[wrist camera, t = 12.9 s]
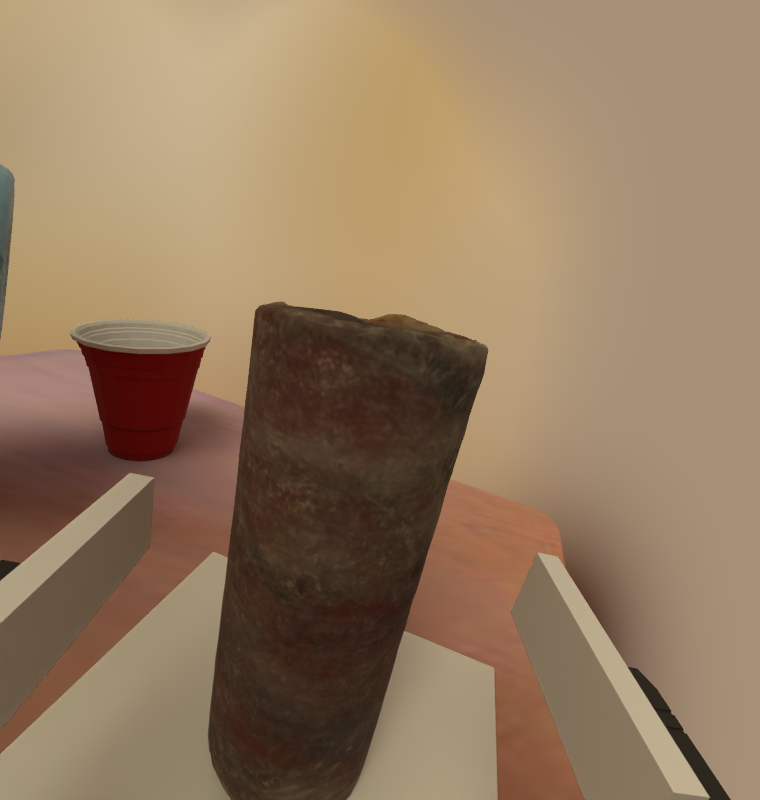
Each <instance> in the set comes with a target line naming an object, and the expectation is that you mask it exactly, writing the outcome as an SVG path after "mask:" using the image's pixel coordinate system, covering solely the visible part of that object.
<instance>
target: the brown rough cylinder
mask: <svg viewBox="0 0 760 800" xmlns="http://www.w3.org/2000/svg"><path fill="white" fill-rule="evenodd" d="M487 354H488V348H487V347H486V345H484V344H481V343H479V342H477V341H476V340H471V339H469V338H467V337H464V336H461V335H457V334H453V333H450V332H445V331H443V330H442V329H440V328H437V327H434V326H431V325H428V324H427V323H424V322H421V321H418V320H416V319H414V318H411V317H408V316H406V315H398V314H388V315H385V316H382V317H378V318H375V319H371V320H368V319H359V318H357V317H355V316H352V315H349V314H346V313H342V312H338V311H330V310H322V309H314V308H304V307H293V306H289V305H287V304H285V303H284V302H275V303H271V304H266V305H261V306H259V307H258V308H257V309H256V311H255V318H254V329H253V339H252V348H251V357H250V367H249V376H248V387H247V394H246V401H245V412H244V422H243V430H242V438H241V445H240V454H239V465H238V476H237V486H236V496H235V505H234V514H233V521H232V529H231V536H230V544H229V552H228V561H227V569H226V578H225V586H224V593H223V601H222V609H221V618H220V628H219V637H218V644H217V651H216V657H215V669H214V678H213V687H212V697H211V705H210V715H209V727H208V743H209V752H210V754H211V761H212V765H213V768H214V770H215V772H216V774H217V777H218V778H219V780H220V783H221V785H222V787H223V789H224V790H225V792H226V793H227V795H228V796H229V797H230V799H231V800H346V799H347V798H348V797H349V796H350V794H351V793H352V791H353V789H354V787H355V785H356V783H357V781H358V779H359V777H360V774H361V772H362V769H363V766H364V763H365V760H366V757H367V754H368V751H369V747H370V744H371V741H372V738H373V735H374V731H375V728H376V725H377V722H378V718H379V715H380V712H381V708H382V705H383V701H384V698H385V694H386V691H387V688H388V684H389V681H390V678H391V674H392V671H393V667H394V664H395V660H396V656H397V652H398V648H399V645H400V642H401V639H402V636H403V633H404V630H405V626H406V622H407V619H408V615H409V611H410V608H411V604H412V601H413V598H414V595H415V593H416V590H417V587H418V583H419V580H420V577H421V574H422V571H423V567H424V564H425V560H426V556H427V553H428V550H429V547H430V544H431V540H432V537H433V534H434V531H435V528H436V525H437V522H438V519H439V516H440V512H441V508H442V505H443V501H444V497H445V494H446V490H447V486H448V483H449V480H450V477H451V475H452V472H453V468H454V465H455V462H456V458H457V455H458V452H459V449H460V446H461V443H462V440H463V437H464V434H465V431H466V427H467V423H468V419H469V415H470V412H471V409H472V406H473V403H474V400H475V397H476V394H477V391H478V389H479V386H480V384H481V381H482V378H483V375H484V371H485V365H486V359H487Z"/></svg>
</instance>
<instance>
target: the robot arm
mask: <svg viewBox="0 0 760 800" xmlns="http://www.w3.org/2000/svg"><path fill="white" fill-rule="evenodd" d="M13 206H14V176H13V174H12V173H11V172H10V171H9V169H7V168H5V167H4V166H2V165H0V337H1V330H2V322H3V314H4V305H5V296H6V286H7V276H8V265H9V254H10V242H11V231H12V221H13ZM153 491H154V477H149V476H144V475H139V474H133V473H129V474H128V475H127V476H126V477H124V478H123V479H122V480H121V481H120V482H118V483H117V484H116V485H115V486H114V487H112V488H111V489H110V490H109V491H108V492H106V493H105V494H104V495H103V496H101V497H100V498H99V499H98V500H97V501H95V502H94V503H93V504H92V505H91V506H89V507H88V508H87V509H86V510H85V511H83V512H82V513H81V514H80V515H79V516H77V517H76V518H75V519H74V520H73V521H71V522H70V523H69V524H68V525H67V526H65V527H64V528H63V529H62V530H61V531H59V532H58V533H57V534H56V535H55V536H53V537H52V538H51V539H50V540H49V541H47V542H46V543H45V544H44V545H43V546H41V547H40V548H39V549H38V550H37V551H35V552H34V553H33V554H32V555H31V556H29V557H28V558H27V559H26V560H25V561H23V562H22V563H17V562H11V561H5V560H1V561H0V731H1V730H2V729H3V728H4V726H5V725H6V724H7V723H8V721H9V720H10V719H11V718H12V716H13V715H14V714H15V713H16V711H17V710H18V709H19V708H20V707H21V705H22V704H23V703H24V702H25V700H26V699H27V698H28V697H29V695H30V694H31V693H32V692H33V690H34V689H35V688H36V687H37V686H38V684H39V683H40V682H41V681H42V679H43V678H44V677H45V676H46V674H47V673H48V672H49V671H50V670H51V668H52V667H53V666H54V665H55V663H56V662H57V661H58V660H59V658H60V657H61V656H62V655H63V653H64V652H65V651H66V650H67V649H68V647H69V646H70V645H71V644H72V642H73V641H74V640H75V639H76V637H77V636H78V635H79V634H80V632H81V631H82V630H83V629H84V628H85V626H86V625H87V624H88V623H89V621H90V620H91V619H92V618H93V616H94V615H95V614H96V613H97V611H98V610H99V609H100V608H101V607H102V605H103V604H104V603H105V602H106V600H107V599H108V598H109V597H110V595H111V594H112V593H113V592H114V590H115V589H116V588H117V587H118V586H119V584H120V583H121V582H122V581H123V579H124V578H125V577H126V576H127V574H128V573H129V572H130V571H131V570H132V568H133V567H134V566H135V565H136V563H137V562H138V561H139V560H140V558H141V557H142V556H143V555H144V553H145V552H146V551H147V550H148V549H149V547H150V537H151V522H152V506H153ZM511 614H512V616H513V619H514V621H515V624H516V627H517V629H518V632H519V634H520V637H521V639H522V642H523V644H524V647H525V649H526V652H527V655H528V657H529V660H530V662H531V665H532V667H533V670H534V672H535V675H536V677H537V680H538V682H539V685H540V688H541V690H542V693H543V695H544V698H545V700H546V703H547V705H548V708H549V710H550V713H551V716H552V718H553V721H554V723H555V726H556V728H557V731H558V733H559V736H560V738H561V741H562V743H563V746H564V749H565V751H566V754H567V756H568V759H569V761H570V764H571V766H572V769H573V771H574V774H575V776H576V779H577V782H578V784H579V787H580V789H581V792H582V794H583V797H584V799H585V800H730V798H729V797H728V795H727V794H726V792H725V791H724V789H723V788H722V786H721V785H720V783H719V782H718V780H717V779H716V777H715V776H714V774H713V773H712V771H711V770H710V768H709V767H708V765H707V764H706V762H705V761H704V759H703V758H702V756H701V755H700V753H699V752H698V750H697V749H696V747H695V746H694V744H693V743H692V741H691V740H690V738H689V737H688V735H687V734H685V733H684V732H683V728H682V726H681V725H680V723H679V722H678V720H677V719H676V717H675V716H674V715H672V714H671V710H670V709H669V707H668V705H667V704H666V702H665V701H664V699H663V698H662V697H661V695H660V693H659V692H658V690H657V689H656V688H655V687H654V686H653V685H652V684H651V683H650V682H649V681H648V679H646V677H645V676H644V675H643V674H642V673H641V672H640V671H639V670H638V669H636V668H630V667H627V666H626V664H625V662H624V661H623V660H622V658H621V656H620V655H619V653H618V651H617V650H616V648H615V647H614V645H613V643H612V642H611V640H610V639H609V637H608V636H607V634H606V632H605V631H604V629H603V628H602V626H601V625H600V623H599V621H598V620H597V618H596V617H595V615H594V613H593V612H592V610H591V609H590V607H589V605H588V604H587V602H586V601H585V599H584V598H583V596H582V594H581V593H580V591H579V590H578V588H577V586H576V585H575V583H574V582H573V580H572V579H571V577H570V575H569V574H568V572H567V571H566V569H565V567H564V566H563V564H562V563H561V561H560V560H559V558H558V557H557V556H552V555H547V554H542V553H537V554H536V556H535V559H534V561H533V563H532V565H531V568H530V570H529V572H528V574H527V577H526V579H525V581H524V583H523V586H522V588H521V590H520V593H519V595H518V597H517V599H516V602H515V604H514V606H513V608H512V611H511Z"/></svg>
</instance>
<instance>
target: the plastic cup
mask: <svg viewBox="0 0 760 800" xmlns="http://www.w3.org/2000/svg"><path fill="white" fill-rule="evenodd" d="M70 335H71V337H72V339H73V340H75V341H77V343H78V345H79V347H80V348H81V351H82V354H83V355H84V357H85V360H86V364H87V366H88V367H89V371H90V376H91V380H92V385H93V389H94V394H95V398H96V403H97V407H98V412H99V416H100V420H101V421H102V425H103V430H104V435H105V441H106V445H107V446H108V450H109V452H110V453H112V454H113V455H114V456H116V457H119V458H123V459H126V460H137V461H142V460H153V459H157V458H160V457H164V456H166V455H167V454H169V453H171V452H172V451H173V449H174V447H175V444H176V443H177V441H178V437H179V433H180V430H181V426H182V422H183V420H184V418H185V415H186V412H187V408H188V404H189V400H190V397H191V393H192V389H193V385H194V382H195V378H196V374H197V370H198V368H199V366H200V362H201V358H202V357H203V352H204V350H205V347H206V345H207V344H208V343H209V342H210V339H211V336H210V335H209V334H208V333H207V332H206V331H203V330H201V329H198V328H195V327H193V326H188V325H183V324H178V323H172V322H164V321H155V320H134V319H118V320H100V321H93V322H86V323H82V324H79V325H77V326H74V327H72V328H71V330H70Z"/></svg>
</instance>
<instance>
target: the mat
mask: <svg viewBox="0 0 760 800" xmlns="http://www.w3.org/2000/svg"><path fill="white" fill-rule="evenodd" d="M227 561H228V557H225V556H223V555H220V554H218V553H216V552H213V553H211V554H210V555H209V556H208V557H207V558H206V559H205V560H204V561H203V562H202V563H201V564H200V565H199V566H198V567H197V568H196V569H195V570H194V571H193V572H191V573H190V574H189V575H188V576H187V577H186V578H185V579H184V580H183V581H182V582H181V583H180V584H179V585H178V586H177V587H176V588H175V589H174V590H173V591H171V592H170V593H169V594H168V595H167V596H166V597H165V598H164V599H163V600H162V601H161V602H160V603H159V604H158V605H157V606H156V607H155V608H154V609H152V610H151V611H150V612H149V613H148V614H147V615H146V616H145V617H144V618H143V619H142V620H141V621H140V622H139V623H138V624H137V625H136V626H135V627H134V628H132V629H131V630H130V631H129V632H128V633H127V634H126V635H125V636H124V637H123V638H122V639H121V640H120V641H119V642H118V643H117V644H116V645H115V646H114V647H112V648H111V649H110V650H109V651H108V652H107V653H106V654H105V655H104V656H103V657H102V658H101V659H100V660H99V661H98V662H97V663H96V664H95V665H93V666H92V667H91V668H90V669H89V670H88V671H87V672H86V673H85V674H84V675H83V676H82V677H81V678H80V679H79V680H78V681H77V682H76V683H75V684H73V685H72V686H71V687H70V688H69V689H68V690H67V691H66V692H65V693H64V694H63V695H62V696H61V697H60V698H59V699H58V700H57V701H56V702H55V703H53V704H52V705H51V706H50V707H49V708H48V709H47V710H46V711H45V712H44V713H43V714H42V715H41V716H40V717H39V718H38V719H37V720H36V721H34V722H33V723H32V724H31V725H30V726H29V727H28V728H27V729H26V730H25V731H24V732H23V733H22V734H21V735H20V736H19V737H18V738H17V739H16V740H14V741H13V742H12V743H11V744H10V745H9V746H8V747H7V748H6V749H5V750H4V751H3V752H2V753H1V754H0V800H231V799H230V797H229V796H228V795H227V793H226V792H225V790H224V789H223V787H222V785H221V783H220V780H219V778H218V777H217V774H216V772H215V770H214V768H213V765H212V761H211V754H210V752H209V743H208V727H209V715H210V705H211V697H212V687H213V678H214V669H215V657H216V651H217V644H218V637H219V628H220V618H221V609H222V601H223V593H224V586H225V578H226V569H227ZM346 800H498V791H497V754H496V718H495V682H494V668H493V667H491V666H489V665H486V664H484V663H481V662H479V661H476V660H474V659H472V658H469V657H467V656H464V655H462V654H460V653H457V652H455V651H452V650H450V649H447V648H445V647H443V646H440V645H438V644H435V643H433V642H431V641H428V640H426V639H423V638H421V637H418V636H416V635H414V634H411V633H409V632H406V631H404V633H403V636H402V639H401V642H400V645H399V648H398V652H397V656H396V660H395V664H394V667H393V671H392V674H391V678H390V681H389V684H388V688H387V691H386V694H385V698H384V701H383V705H382V708H381V712H380V715H379V718H378V722H377V725H376V728H375V731H374V735H373V738H372V741H371V744H370V747H369V751H368V754H367V757H366V760H365V763H364V766H363V769H362V772H361V774H360V777H359V779H358V781H357V783H356V785H355V787H354V789H353V791H352V793H351V794H350V796H349V797H348V798H347V799H346Z"/></svg>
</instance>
